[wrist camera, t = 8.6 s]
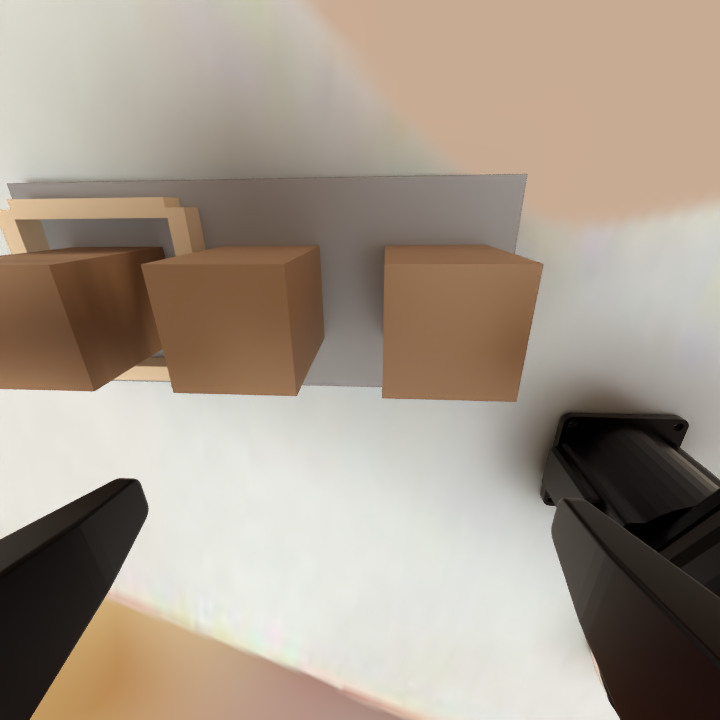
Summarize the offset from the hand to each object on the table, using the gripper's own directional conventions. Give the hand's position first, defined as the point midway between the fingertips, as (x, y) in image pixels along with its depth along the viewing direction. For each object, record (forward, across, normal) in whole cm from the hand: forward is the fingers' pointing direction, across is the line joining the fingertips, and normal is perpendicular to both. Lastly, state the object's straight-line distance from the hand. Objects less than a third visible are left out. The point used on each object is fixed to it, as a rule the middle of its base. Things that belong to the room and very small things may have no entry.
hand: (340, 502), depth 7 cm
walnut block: (+11, +12, -2) cm, 16 cm away
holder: (+12, +5, -2) cm, 13 cm away
